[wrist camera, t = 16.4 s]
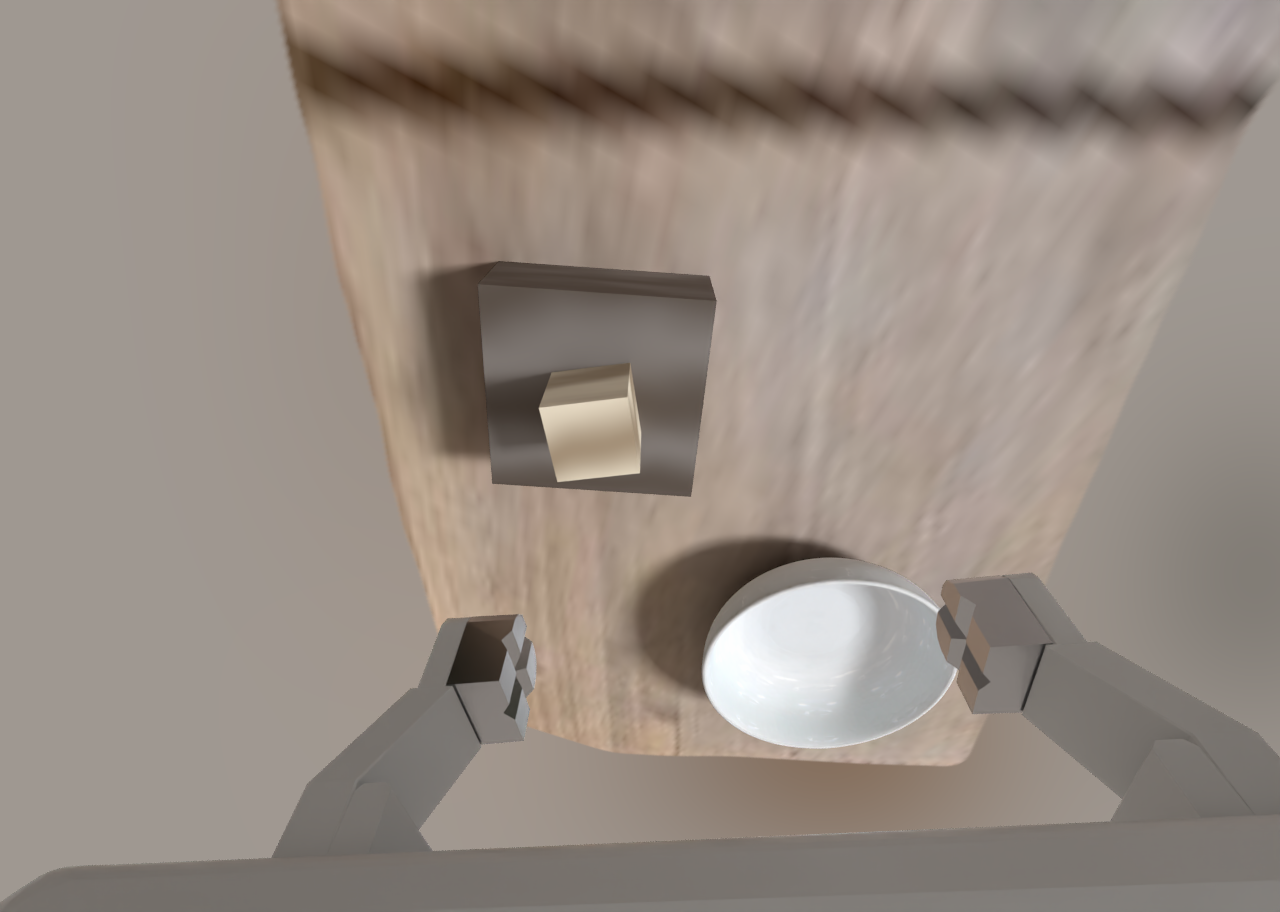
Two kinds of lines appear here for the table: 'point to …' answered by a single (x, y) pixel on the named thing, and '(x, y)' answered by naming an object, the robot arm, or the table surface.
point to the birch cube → (592, 422)
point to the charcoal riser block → (595, 364)
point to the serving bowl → (825, 654)
